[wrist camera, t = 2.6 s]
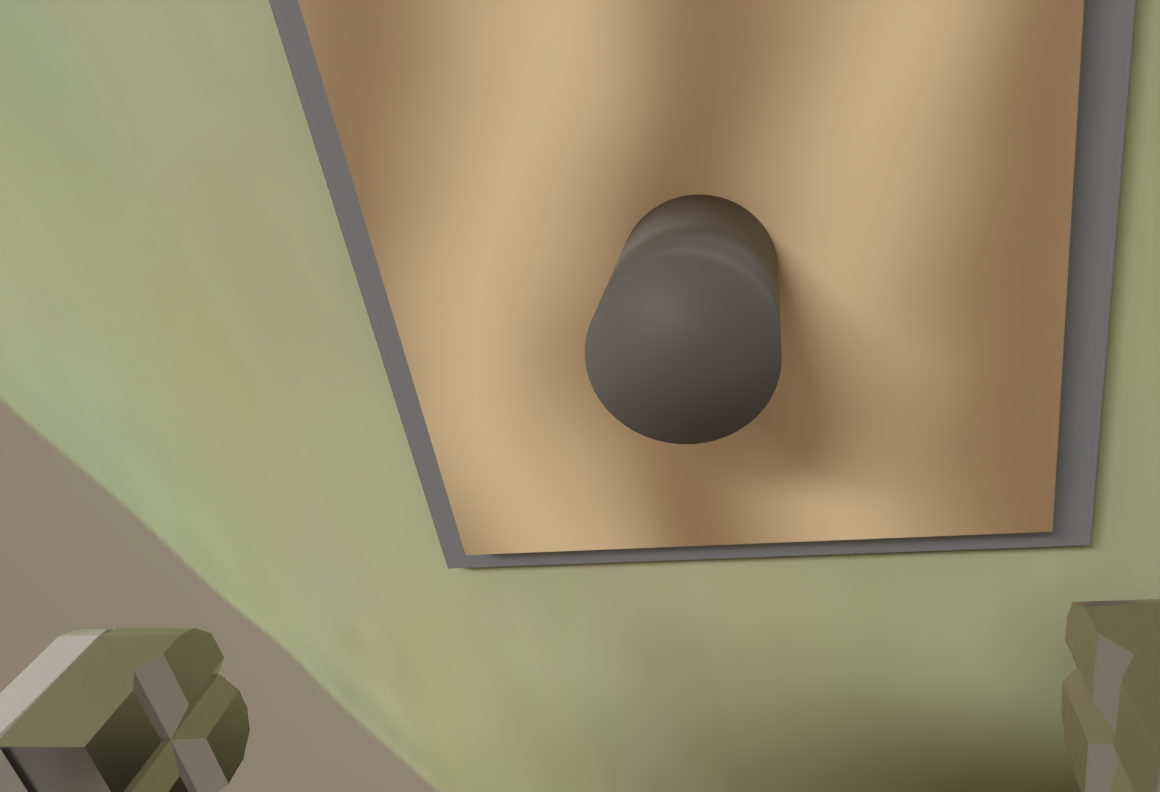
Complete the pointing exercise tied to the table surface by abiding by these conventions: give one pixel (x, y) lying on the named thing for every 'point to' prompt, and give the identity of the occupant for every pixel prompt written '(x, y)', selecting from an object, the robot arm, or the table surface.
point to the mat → (1072, 526)
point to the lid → (720, 258)
